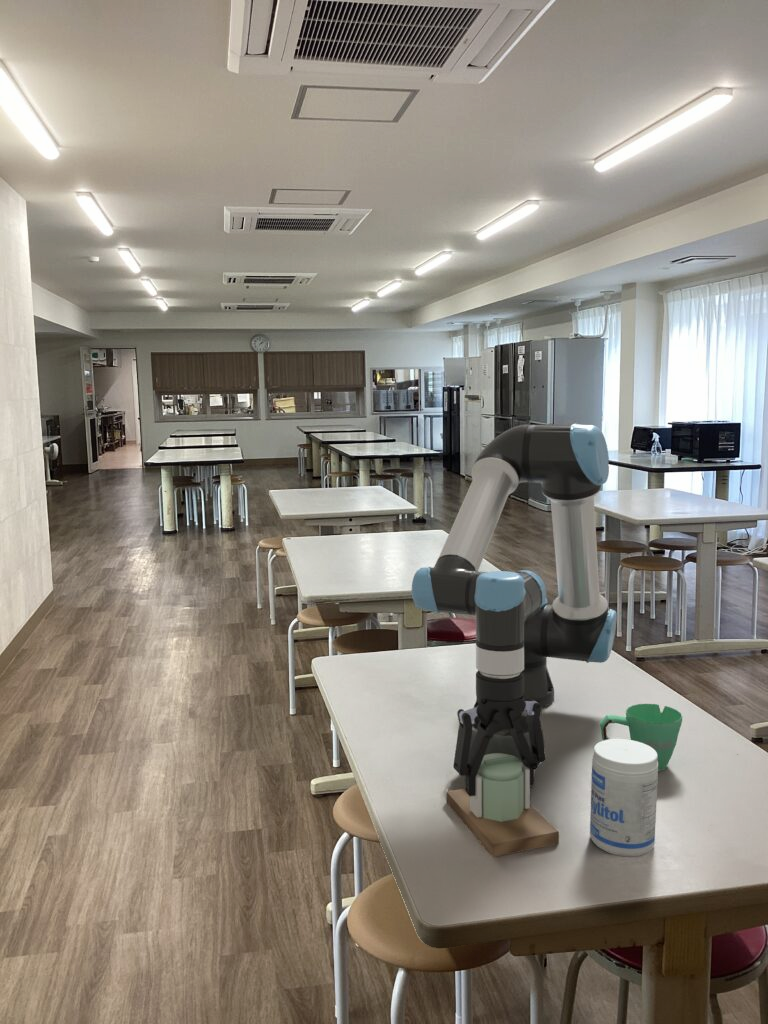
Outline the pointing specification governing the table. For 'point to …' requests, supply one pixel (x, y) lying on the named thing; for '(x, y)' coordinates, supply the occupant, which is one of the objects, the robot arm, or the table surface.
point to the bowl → (504, 739)
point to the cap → (502, 787)
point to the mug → (650, 728)
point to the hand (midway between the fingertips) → (499, 808)
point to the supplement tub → (623, 797)
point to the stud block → (504, 828)
